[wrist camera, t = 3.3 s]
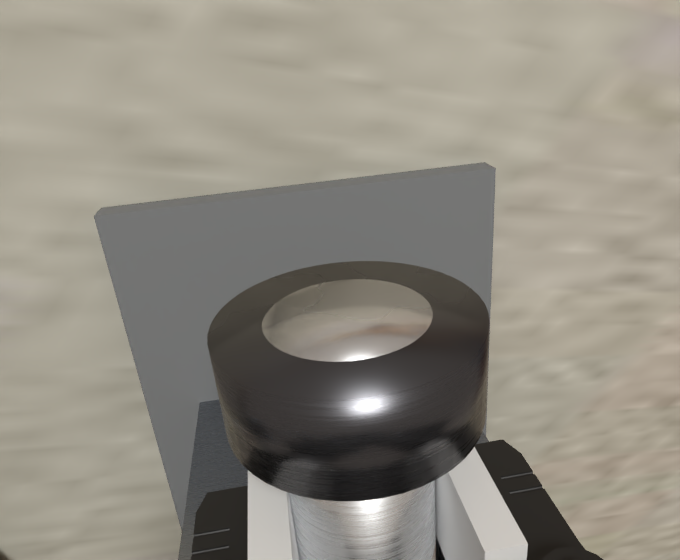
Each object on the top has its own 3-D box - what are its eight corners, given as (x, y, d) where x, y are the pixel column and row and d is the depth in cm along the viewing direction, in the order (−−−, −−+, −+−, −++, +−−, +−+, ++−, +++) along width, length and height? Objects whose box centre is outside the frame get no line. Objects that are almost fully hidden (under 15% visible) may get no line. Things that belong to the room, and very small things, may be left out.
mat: (219, 642, 29) (218, 661, 28) (101, 207, 19) (93, 216, 18) (472, 591, 30) (479, 607, 30) (484, 162, 21) (495, 168, 20)
